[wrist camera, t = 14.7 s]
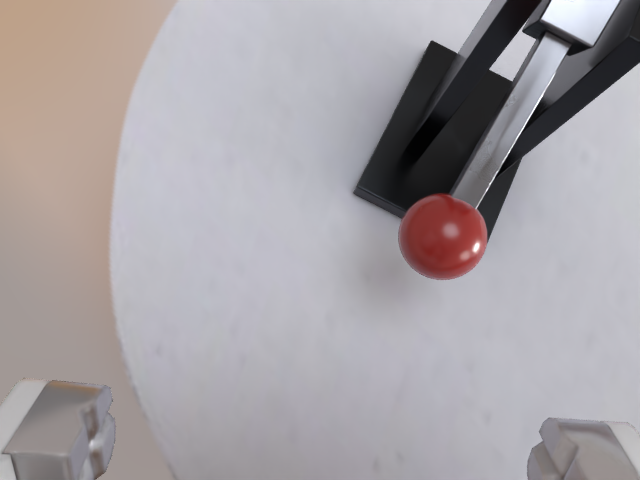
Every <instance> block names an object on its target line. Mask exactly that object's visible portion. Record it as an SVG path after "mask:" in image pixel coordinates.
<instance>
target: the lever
mask: <svg viewBox="0 0 640 480" xmlns="http://www.w3.org/2000/svg"><path fill="white" fill-rule="evenodd" d="M621 1H622V0H542V2H541V3H540V4H539V5H538V7H537V8H536V9H535V11H534V12H533V13H532V14H531V16H530V17H529V19H528V21H527V23H526V25H525V26H524V28H523V30H522V32H523V33H525V34H527V35H529V36H531V37H533V38H535V39H536V41H535V43H534V45H533V46H532V48H531V50H530V52H529V53H528V55H527V57H526V59H525V60H524V62H523V64H522V66H521V68H520V69H519V71H518V73H517V75H516V76H515V78H514V80H513V82H512V83H511V85H510V87H509V89H508V90H507V92H506V94H505V96H504V98H503V99H502V101H501V103H500V105H499V106H498V108H497V110H496V112H495V113H494V115H493V117H492V119H491V120H490V122H489V124H488V126H487V128H486V129H485V131H484V133H483V135H482V136H481V138H480V140H479V142H478V143H477V145H476V147H475V149H474V150H473V152H472V154H471V156H470V158H469V159H468V161H467V163H466V165H465V166H464V168H463V170H462V172H461V173H460V175H459V177H458V179H457V180H456V182H455V184H454V186H453V188H452V189H451V191H450V193H449V194H447V193H439V194H432V195H429V196H426V197H424V198H422V199H420V200H418V201H417V202H415V203H414V204H413V205H412V206H411V207H410V208H409V209H408V210H407V211H406V213H405V215H404V216H403V218H402V220H401V223H400V227H399V232H398V241H399V247H400V250H401V253H402V255H403V257H404V259H405V260H406V262H407V263H408V264H409V265H410V267H411V268H412V269H414V270H415V271H416V272H418V273H419V274H421V275H423V276H425V277H428V278H431V279H436V280H450V279H454V278H457V277H460V276H462V275H464V274H466V273H468V272H469V271H471V270H472V269H473V268H474V267H475V266H476V265H477V264H478V263H479V261H480V260H481V258H482V256H483V254H484V252H485V249H486V245H487V229H486V224H485V221H484V219H483V217H482V215H481V214H480V212H479V211H478V209H477V207H478V205H479V203H480V202H481V200H482V198H483V197H484V195H485V193H486V191H487V190H488V188H489V186H490V185H491V183H492V181H493V180H494V178H495V176H496V174H497V173H498V171H499V169H500V168H501V166H502V164H503V162H504V161H505V159H506V157H507V156H508V154H509V152H510V150H511V149H512V147H513V145H514V144H515V142H516V140H517V138H518V137H519V135H520V133H521V132H522V130H523V128H524V126H525V125H526V123H527V121H528V120H529V118H530V116H531V114H532V113H533V111H534V109H535V108H536V106H537V104H538V103H539V101H540V99H541V97H542V96H543V94H544V92H545V91H546V89H547V87H548V85H549V84H550V82H551V80H552V79H553V77H554V75H555V73H556V72H557V70H558V68H559V67H560V65H561V63H562V61H563V60H564V58H565V56H566V55H568V56H572V55H575V54H577V53H580V52H583V51H585V50H588V49H591V48H593V47H594V46H595V44H596V43H597V41H598V39H599V38H600V36H601V34H602V33H603V31H604V29H605V28H606V26H607V24H608V22H609V21H610V19H611V17H612V16H613V14H614V12H615V11H616V9H617V7H618V6H619V4H620V2H621Z"/></svg>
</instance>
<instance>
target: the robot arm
mask: <svg viewBox="0 0 640 480" xmlns="http://www.w3.org/2000/svg"><path fill="white" fill-rule="evenodd" d="M112 402H113V400H112V393H111V388H110V387H108V386H106V385H96V384H86V383H76V382H66V381H55V380H52V381H49V380H40V379H28V378H23V379H22V380H20V381H19V382H17V383H16V384H15V385H14V386H13V388H12V389H11V391H10V392H9V393H8V395H7V396H6V397H5V399H4V400H3V402H2V403H1V404H0V480H96V479H97V478H98V477H99V476H101V475H102V474H103V473H105V472H106V469H107V467H108V464H109V462H110V459H111V456H112V452H113V448H114V443H115V434H116V426H115V419H114V418H113V417H112V416H111V415H110V414H109V413H108V410H109V408H110V406H111V404H112ZM539 433H540V435H541V437H542V440H543V441H542V442H541V443H539V444H538V445H536V446H535V447H533V448H532V450H531V453H530V456H529V458H528V464H527V477H528V480H640V435H639V433H638V432H637V430H636V429H635V428H634V427H633V426H632V425H630V424H629V423H625V422H610V421H600V422H599V421H594V420H578V419H562V418H548V419H547V420H545V421H544V422H543V424H542V426H541V429H540V431H539Z"/></svg>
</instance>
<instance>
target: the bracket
mask: <svg viewBox="0 0 640 480" xmlns="http://www.w3.org/2000/svg"><path fill="white" fill-rule="evenodd" d="M541 2H542V0H492V1H491V2H490V4H489V6H488V7H487V9H486V10H485V12H484V13H483V15H482V16H481V18H480V20H479V21H478V23H477V24H476V26H475V27H474V29H473V30H472V32H471V34H470V35H469V37H468V38H467V40H466V41H465V43H464V44H463V46H462V48H461V49H460V51H459V52H458V54H457V53H456V52H454V51H452V50H450V49H448V48H446V47H444V46H442V45H440V44H438V43H436V42H434V41H430V43H429V45H428V47H427V49H426V51H425V52H424V54H423V56H422V58H421V60H420V62H419V64H418V66H417V68H416V70H415V72H414V74H413V76H412V78H411V80H410V82H409V84H408V86H407V88H406V90H405V92H404V94H403V96H402V98H401V100H400V102H399V104H398V105H397V107H396V109H395V111H394V113H393V115H392V117H391V119H390V121H389V123H388V125H387V127H386V129H385V131H384V133H383V135H382V137H381V139H380V141H379V143H378V145H377V147H376V149H375V151H374V153H373V155H372V157H371V159H370V160H369V162H368V164H367V166H366V168H365V170H364V172H363V174H362V176H361V178H360V180H359V182H358V184H357V186H356V188H355V190H354V192H353V193H354V194H355V195H357V196H359V197H361V198H363V199H365V200H367V201H369V202H371V203H373V204H375V205H377V206H379V207H381V208H383V209H385V210H386V211H388V212H390V213H392V214H394V215H396V216H398V217H400V218H403V216H404V215H405V213H406V211H407V210H408V209H409V208H410V207H411V206H412V205H413V204H414V203H415V202H417V201H418V200H420V199H422V198H424V197H426V196H429V195H432V194H439V193H447V194H449V193H450V191H451V189H452V188H453V186H454V184H455V182H456V180H457V179H458V177H459V175H460V173H461V172H462V170H463V168H464V166H465V165H466V163H467V161H468V159H469V158H470V156H471V154H472V152H473V150H474V149H475V147H476V145H477V143H478V142H479V140H480V138H481V136H482V135H483V133H484V131H485V129H486V128H487V126H488V124H489V122H490V120H491V119H492V117H493V115H494V113H495V112H496V110H497V108H498V106H499V105H500V103H501V101H502V99H503V98H504V96H505V94H506V92H507V90H508V89H509V87H510V85H511V83H512V81H510V80H508V79H506V78H504V77H502V76H500V75H498V74H496V73H494V72H492V71H491V70H489V68H490V67H491V66H492V65H493V63H494V62H495V61H496V59H497V58H498V57H499V56H500V54H501V53H502V52H503V50H504V49H505V48H506V47H507V45H508V44H509V43H510V41H511V40H512V39H513V38H514V36H515V35H516V34H517V32H518V31H519V30H520V29H521V27H522V26H523V25H524V23H525V22H526V21H527V20H528V18H529V17H530V16H531V14H532V13H533V12H534V11H535V9H536V8H537V7H538V5H539V4H540V3H541ZM638 63H640V0H622V1H621V2H620V4H619V6H618V7H617V9H616V11H615V12H614V14H613V16H612V17H611V19H610V21H609V22H608V24H607V26H606V28H605V29H604V31H603V33H602V34H601V36H600V38H599V39H598V41H597V43H596V44H595V46H594V47H593V48H591V49H588V50H585V51H583V52H580V53H577V54H575V55H572V56H568V55H566V56H565V58H564V60H563V61H562V63H561V65H560V67H559V68H558V70H557V72H556V73H555V75H554V77H553V79H552V80H551V82H550V84H549V85H548V87H547V89H546V91H545V92H544V94H543V96H542V97H541V99H540V101H539V103H538V104H537V106H536V108H535V109H534V111H533V113H532V114H531V116H530V118H529V120H528V121H527V123H526V125H525V126H524V128H523V130H522V132H521V133H520V135H519V137H518V138H517V140H516V142H515V144H514V145H513V147H512V149H511V150H510V152H509V154H508V156H507V157H506V159H505V161H504V162H503V164H502V166H501V168H500V169H499V171H498V173H497V174H496V176H495V178H494V180H493V181H492V183H491V185H490V186H489V188H488V190H487V191H486V193H485V195H484V197H483V198H482V200H481V202H480V203H479V205H478V207H477V209H478V211H479V212H480V214H481V215H482V217H483V219H484V221H485V224H486V229H487V242H488V240H489V238H490V235H491V233H492V230H493V228H494V225H495V223H496V220H497V218H498V216H499V213H500V211H501V208H502V206H503V203H504V201H505V199H506V196H507V194H508V191H509V189H510V186H511V184H512V181H513V179H514V177H515V174H516V172H517V169H518V167H519V164H520V162H521V159H522V157H523V156H524V155H526V154H527V153H528V152H529V151H531V150H532V149H533V148H534V147H536V146H537V145H538V144H539V143H541V142H542V141H543V140H544V139H545V138H547V137H548V136H549V135H550V134H552V133H553V132H554V131H555V130H557V129H558V128H559V127H560V126H562V125H563V124H564V123H565V122H567V121H568V120H569V119H570V118H572V117H573V116H574V115H575V114H576V113H578V112H579V111H580V110H581V109H583V108H584V107H585V106H586V105H588V104H589V103H590V102H591V101H593V100H594V99H595V98H596V97H598V96H599V95H600V94H601V93H603V92H604V91H605V90H606V89H607V88H609V87H610V86H611V85H612V84H614V83H615V82H616V81H617V80H619V79H620V78H621V77H622V76H624V75H625V74H626V73H627V72H629V71H630V70H631V69H632V68H634V67H635V66H636V65H637V64H638Z"/></svg>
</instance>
